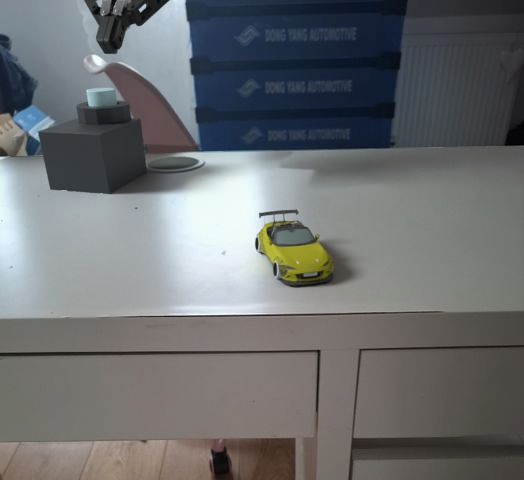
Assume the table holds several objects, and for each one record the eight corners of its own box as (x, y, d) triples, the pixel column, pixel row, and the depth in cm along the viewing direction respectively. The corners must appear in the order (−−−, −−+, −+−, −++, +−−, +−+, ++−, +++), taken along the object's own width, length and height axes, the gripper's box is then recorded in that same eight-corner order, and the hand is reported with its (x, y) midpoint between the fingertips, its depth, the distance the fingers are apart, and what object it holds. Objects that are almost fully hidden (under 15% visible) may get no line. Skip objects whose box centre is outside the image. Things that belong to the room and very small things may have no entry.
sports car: (280, 289, 43) (280, 252, 41) (250, 243, 51) (250, 211, 50) (341, 282, 44) (344, 246, 42) (303, 238, 52) (304, 206, 51)
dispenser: (109, 194, 65) (97, 116, 60) (50, 189, 67) (33, 114, 62) (151, 170, 74) (144, 101, 70) (98, 166, 76) (87, 99, 71)
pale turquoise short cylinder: (109, 110, 66) (106, 91, 65) (83, 109, 67) (80, 90, 66) (122, 105, 69) (120, 87, 68) (98, 105, 70) (95, 87, 69)
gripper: (78, -94, 69) (41, 24, 65) (177, -99, 66) (144, 24, 62) (106, -39, 76) (74, 70, 72) (196, -42, 73) (168, 72, 69)
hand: (107, 49), depth 67 cm, fingers closed
